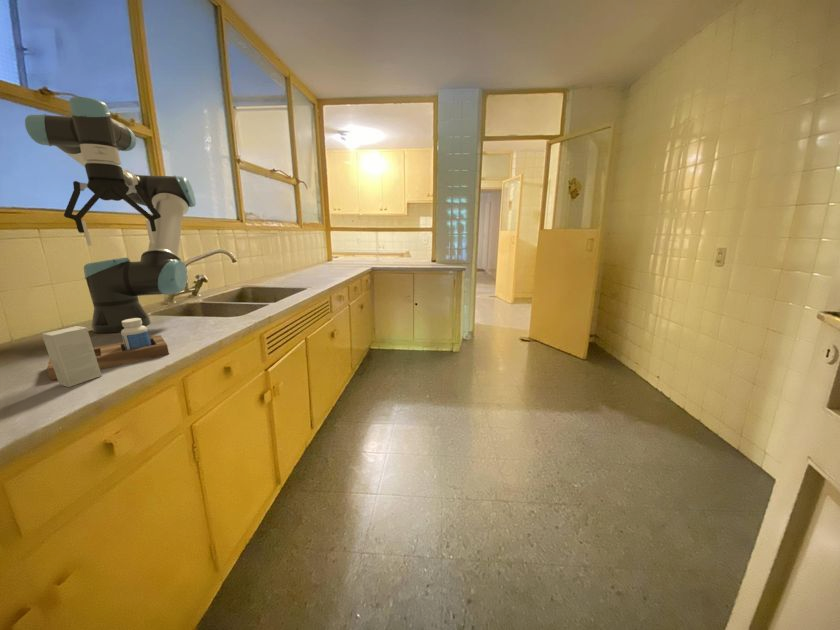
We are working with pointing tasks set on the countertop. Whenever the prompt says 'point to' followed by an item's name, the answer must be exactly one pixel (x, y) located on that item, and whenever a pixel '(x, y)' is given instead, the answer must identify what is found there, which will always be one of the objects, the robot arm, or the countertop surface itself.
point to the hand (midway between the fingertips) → (122, 244)
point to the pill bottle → (134, 334)
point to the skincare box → (72, 355)
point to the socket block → (123, 354)
